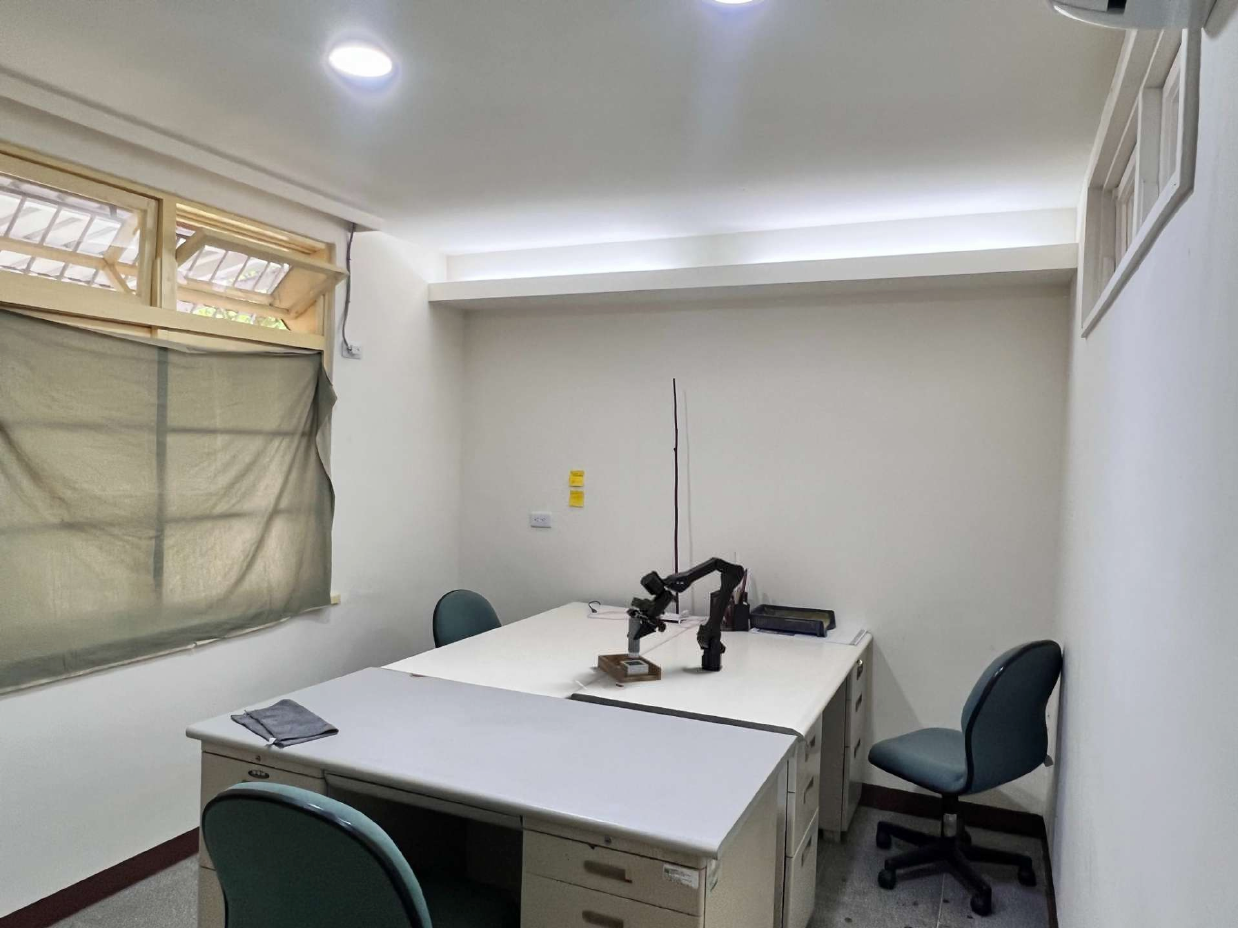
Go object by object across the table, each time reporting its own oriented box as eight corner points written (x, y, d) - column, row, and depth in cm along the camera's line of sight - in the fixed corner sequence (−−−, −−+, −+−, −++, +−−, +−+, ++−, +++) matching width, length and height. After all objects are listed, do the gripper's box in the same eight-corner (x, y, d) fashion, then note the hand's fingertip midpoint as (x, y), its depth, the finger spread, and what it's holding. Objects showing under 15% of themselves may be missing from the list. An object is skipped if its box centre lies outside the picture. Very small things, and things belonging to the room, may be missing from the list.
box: (635, 665, 301) (635, 652, 301) (660, 680, 279) (661, 667, 279) (597, 667, 295) (598, 655, 295) (620, 684, 274) (620, 670, 274)
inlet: (639, 672, 288) (639, 659, 288) (648, 678, 281) (648, 664, 281) (619, 674, 285) (619, 661, 285) (627, 679, 278) (627, 666, 278)
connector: (639, 655, 285) (640, 617, 285) (639, 658, 281) (640, 620, 281) (627, 655, 285) (628, 617, 285) (627, 657, 281) (628, 619, 281)
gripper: (631, 584, 293) (603, 618, 288) (659, 592, 277) (630, 628, 271) (650, 605, 297) (622, 638, 292) (678, 614, 281) (650, 649, 275)
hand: (630, 638), depth 282 cm, fingers closed on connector, 4 cm apart
